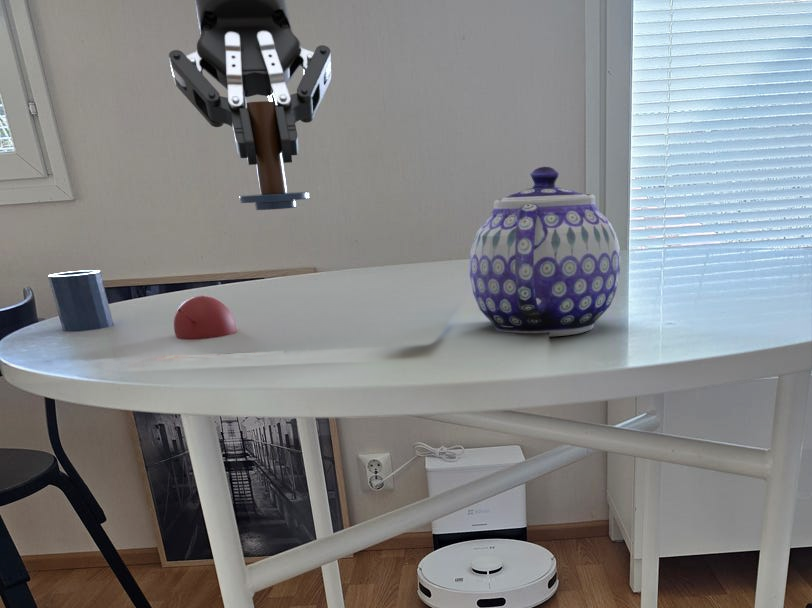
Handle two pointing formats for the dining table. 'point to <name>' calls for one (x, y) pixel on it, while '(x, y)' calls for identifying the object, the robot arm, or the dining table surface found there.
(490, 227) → the teapot
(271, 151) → the peg on round base
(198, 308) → the fruit
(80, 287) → the tin
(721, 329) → the dining table surface
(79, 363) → the dining table surface
